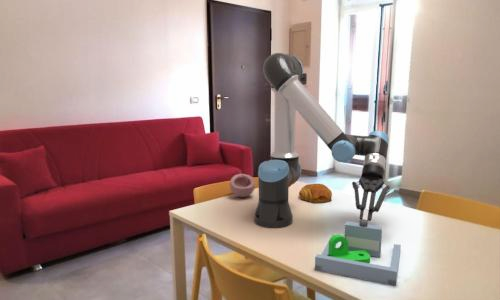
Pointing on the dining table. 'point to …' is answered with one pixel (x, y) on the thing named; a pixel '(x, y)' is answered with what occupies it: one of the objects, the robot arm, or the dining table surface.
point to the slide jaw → (364, 237)
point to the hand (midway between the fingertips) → (363, 228)
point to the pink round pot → (242, 185)
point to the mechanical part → (346, 250)
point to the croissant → (315, 193)
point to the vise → (359, 267)
